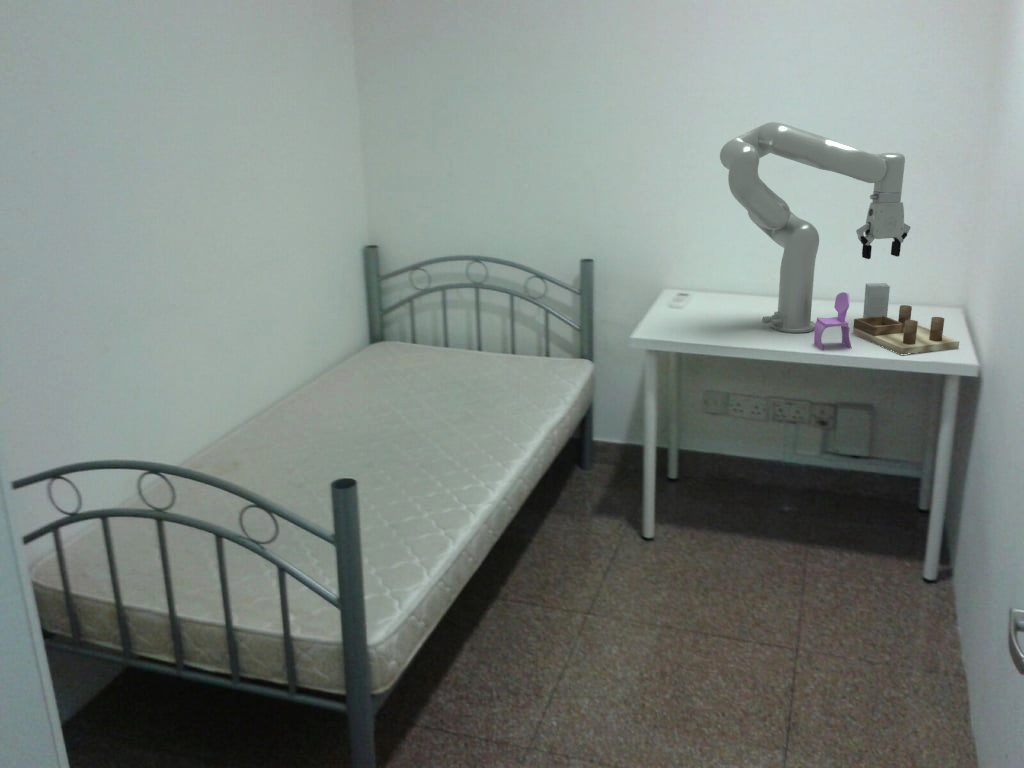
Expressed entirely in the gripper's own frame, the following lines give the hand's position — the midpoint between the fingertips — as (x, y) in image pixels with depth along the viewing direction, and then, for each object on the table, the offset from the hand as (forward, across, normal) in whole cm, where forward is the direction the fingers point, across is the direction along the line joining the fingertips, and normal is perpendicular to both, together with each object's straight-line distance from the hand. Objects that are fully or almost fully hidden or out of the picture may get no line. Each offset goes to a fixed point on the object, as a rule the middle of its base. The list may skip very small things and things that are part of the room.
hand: (880, 256), depth 283 cm
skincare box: (+20, 0, 0) cm, 20 cm away
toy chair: (+20, -24, -15) cm, 35 cm away
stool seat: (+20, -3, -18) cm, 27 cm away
